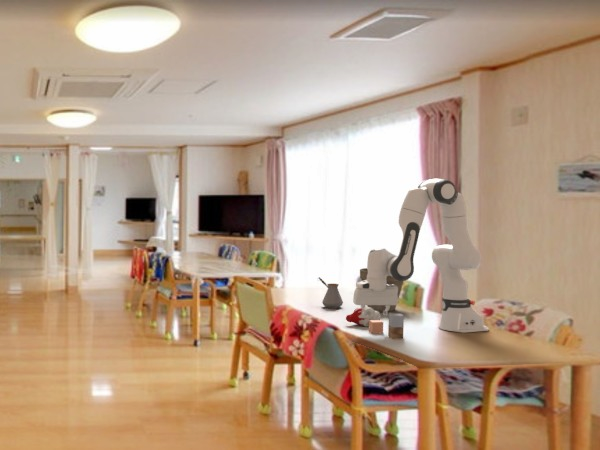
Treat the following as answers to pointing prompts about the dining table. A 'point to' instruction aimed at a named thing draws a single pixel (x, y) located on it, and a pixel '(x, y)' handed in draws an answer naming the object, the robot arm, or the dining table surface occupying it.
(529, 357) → the dining table surface
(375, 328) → the terracotta block
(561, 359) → the dining table surface
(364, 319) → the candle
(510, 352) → the dining table surface
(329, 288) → the coffee pot
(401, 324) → the block
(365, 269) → the plant pot
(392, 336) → the tower base
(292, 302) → the dining table surface
